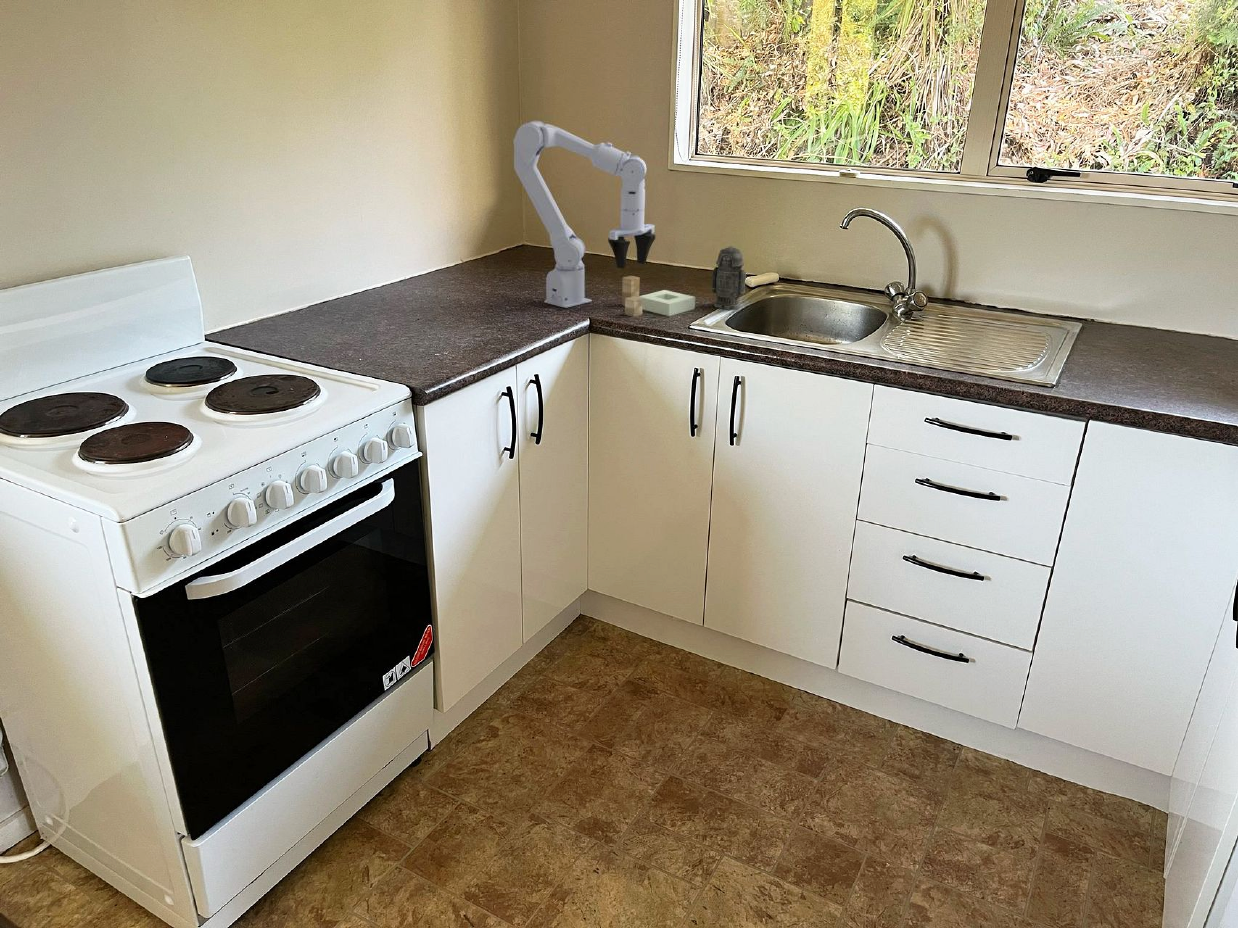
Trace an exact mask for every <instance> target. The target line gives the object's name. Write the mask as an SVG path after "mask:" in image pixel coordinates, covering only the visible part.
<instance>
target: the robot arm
mask: <svg viewBox="0 0 1238 928" xmlns="http://www.w3.org/2000/svg"><path fill="white" fill-rule="evenodd" d="M513 145H514V146H513V147H514V150H513V169H514V171H515V173H516V175H517V176H518V179H519V180H520V182H521V185H522V186H523V188H524V190H525V192H526V193H527V196H528V198H529V199H530V200H531V201H530V202H531V203H532V205H533V208H534V209H535V210H536V212H537V214H538V216H539V218H540V219H541V222H542V224H543V226H544V227H545V230H546V231H547V233H548V235H549V239H550V244H551V247H552V249H553V251H554V252H553V253H554V259H555V262H556V263H555V268H553V270H550V271H548V273H547V275H546V278H545V284H546V285H545V289H546V290H545V291H546V295H545V297H546V299H545V300H544V303H546V304H550V305H553V306H556V307H561V308H565V309H566V308H571V307H574V306H575V307H576V306H579V305H580V306H581V305H583V304H587V303H588V304H589V303H591V302H592V299H590V298H586V297H585V264H584V263H583V260H582V259H583V257H584V255H585V253H586V252H585V251H586V246H585V243H584V242H583V240H582V239H580V238H579V237H578V236H577V235H576V234H575V233H574V231H573V229H572V228H571V227H570V226H569V225H568V223H567V222H566V219H565V218H564V216H563V214H562V212H561V211H560V209H559V206H558V205H557V203H556V201H555V199H554V197H553V195H552V193H551V191H550V189H549V187H548V186H547V184H546V181H545V180H544V178H543V176H542V174H541V173H540V171H539V168H538V161H539V158H540V155H541V152H542V151H543V149H544V148H551V147H561V148H564V149H566V150H568V151H570V152H574V153H576V154H578V155H580V156H583V157H586V158H588V159H589V160H590V162H591V164H592V167H595V168H597V169H599V170H601V171H603V172H606V173H609V174H610V175H612V176H616V177H620V178H621V181H622V184H621V185H622V186H621V187H622V188H621V191H620V192H621V195H620V196H621V199H620V227H617V228H615V229H612V230H609V231H608V238H607V241H608V244H609V247H611V250H612V253H613V256H614V260H615V264H616V268H619V269H621V270H622V269H623V270H624V269H626V266H627V265H626V264H627V256H628V252H629V251H628V250H629V246H630V244H631V241H630V240H627V239H626V238H629V237H634V240H635V246H636V260H637V264H641V265H645V264H646V263H647V260H648V257H649V256H648V255H649V252H650V249H651V247H652V245H653V244H654V241H655V240H656V234H655V224H651V223H647V224H645V213H646V212H645V208H646V207H645V206H646V203H645V202H646V189H645V187H646V182H645V176H646V175H647V164H646V162H645V160H643V159H642V158H641V157H639V155H631V154H632V153H631V152H630V151H626V152H624V151H622V150H620V149H618V148H615V147H614V146H613V143H611V142H609V141H608V142H606V143H604V142H599V143H598V144H593V143H591V142H589V141H588V140H585V139H583V138H581V137H579V136H577V135H574V134H572V133H571V132H568V131H567V130H564V129H562V128H561V127H558V126H555V125H553V124H549V123H544V122H543V121H540V120H532V121H530V122H527V123H523V124H522V125H521V126H519V128H518V129H517V131H516V134H515V136H514V138H513Z"/></svg>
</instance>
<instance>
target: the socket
mask: <svg viewBox="0 0 1238 928" xmlns="http://www.w3.org/2000/svg"><path fill="white" fill-rule="evenodd" d="M638 298H643V309H642V311H648V312H652V313H654V314H659V315H663V316H666V317H670V316H675V315H678V314H681V313H685V312H688V311H692V310H695V309H696V296H692V295H688V294H685V293H679V292H674V291H671V290H667V289H663V290H658V291H655V292H652V293H648V294H643V295H639V296H638Z"/></svg>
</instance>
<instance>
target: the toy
mask: <svg viewBox="0 0 1238 928" xmlns="http://www.w3.org/2000/svg"><path fill="white" fill-rule="evenodd" d="M715 264H716V265H717V266H715V267H714V268H713V270H712V283H711V292H712V293H713V294H715V295H716V300H715V301H714V305H713V306H714V308H717V309H724V310H737V309H739V308H741V297H743V295H744V294H745V293H746V290H745V288H746V278H747V273H746V271H745V270H744V269H742V267H743V266H744V265H745V263H744V259H743V254H742V251H741V250H740V249H738V248H736V247H733V246H732V245H731V246H728V247H725V248H722V249H720V252H719V254H718V255H717V260H716V262H715Z"/></svg>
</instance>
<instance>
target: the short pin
mask: <svg viewBox="0 0 1238 928" xmlns="http://www.w3.org/2000/svg"><path fill="white" fill-rule="evenodd" d="M624 315H625V316H626V315H627V316H630V317H633V318H634V317H639V316H642V315H643V298H638V297H634V296H633V297H629V298H625V306H624Z"/></svg>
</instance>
